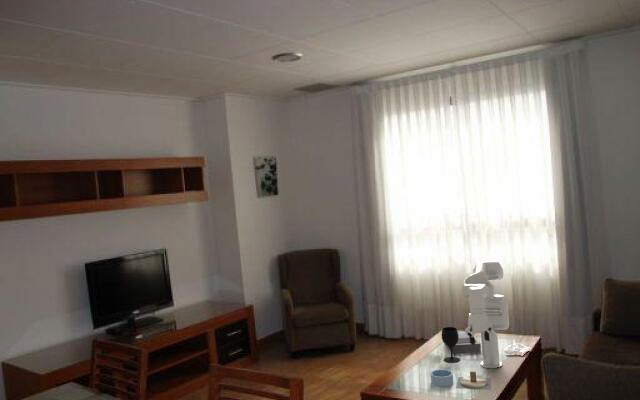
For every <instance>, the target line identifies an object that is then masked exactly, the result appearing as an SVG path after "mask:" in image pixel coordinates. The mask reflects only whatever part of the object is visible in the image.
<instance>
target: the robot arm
mask: <svg viewBox="0 0 640 400" xmlns="http://www.w3.org/2000/svg"><path fill="white" fill-rule="evenodd" d="M503 278H504V269H503V267H502V265H501V264H500V261H497V260H481V261H478V262H476V263H475V265H474V268H473V270H472V274H470V275H469V276H467V277H466V278H465V279H464V280H463V282H462V285H461V295H462V297H464V298H466V299H468V301H469V303H468V304H469V312H470V313H468V319H467V320H468V321H467V327H466V328H465V329H464V332H466V334H467V335H468V336H469V337H470V344H473V345H475V338H474V337H473V336H475V334H478V333H480V339H481V353H482V361H480V365H481V367H483V368H486V369H498V368H497V367H499V368H501V367H503V362H502V361H500V351H499V337H498V335H497V333H496V332H495V330H498V331H499V330H502V331H503V330H505V331H506V330H508V329H509V326H510V317H509V316H510V315H509V304H508V303H509V302H508V298H507V297H506V296H505V295H502V294H495V288H494V285H493V283H492V282H491V281H501V280H502V279H503ZM487 311H488V312H487ZM494 312H496V313H494ZM498 312H500V313H498ZM469 331H470V333H469ZM500 366H501V367H500Z"/></svg>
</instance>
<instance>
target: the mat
mask: <svg viewBox="0 0 640 400" xmlns="http://www.w3.org/2000/svg"><path fill="white" fill-rule="evenodd" d="M465 377H466V376H465ZM465 377H461V376H460V377H459V376H458V377H457V381H456V389H462V390H463V389H465V390H466V389H467V390H489V391H490V390H491V388H492V387H491V385H492V379H491V377H489V378H487V377H483V378H484V379H486V381H487V385H486V386H484V387H481V388H468V387H465V386H463V385H461V379H462V378H465Z"/></svg>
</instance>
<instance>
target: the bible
mask: <svg viewBox="0 0 640 400" xmlns="http://www.w3.org/2000/svg"><path fill="white" fill-rule="evenodd" d="M469 333H470V331H469ZM458 337H459V338H458V342H457V344H456V345H455V346H454V347H452V355H460V354H461V355H462V354H477V352H480V353H482V342H480V341H479V339H478V338H477V337H476V335H474V336H473V337H474V338H475V345H473V344H470V337H469V336H468V335H467V334H466V332H465V331H464V332H458ZM448 349H449V350H450V348H448Z"/></svg>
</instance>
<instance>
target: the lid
mask: <svg viewBox="0 0 640 400" xmlns="http://www.w3.org/2000/svg"><path fill="white" fill-rule="evenodd" d="M484 378H485V377H481V376H477V372H476V371H475V370H470V372H469V376H465V378H462V379H461V385H463V386H465V387H468V388H481V387H484V386H486V385H487V381H486V379H484Z"/></svg>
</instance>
